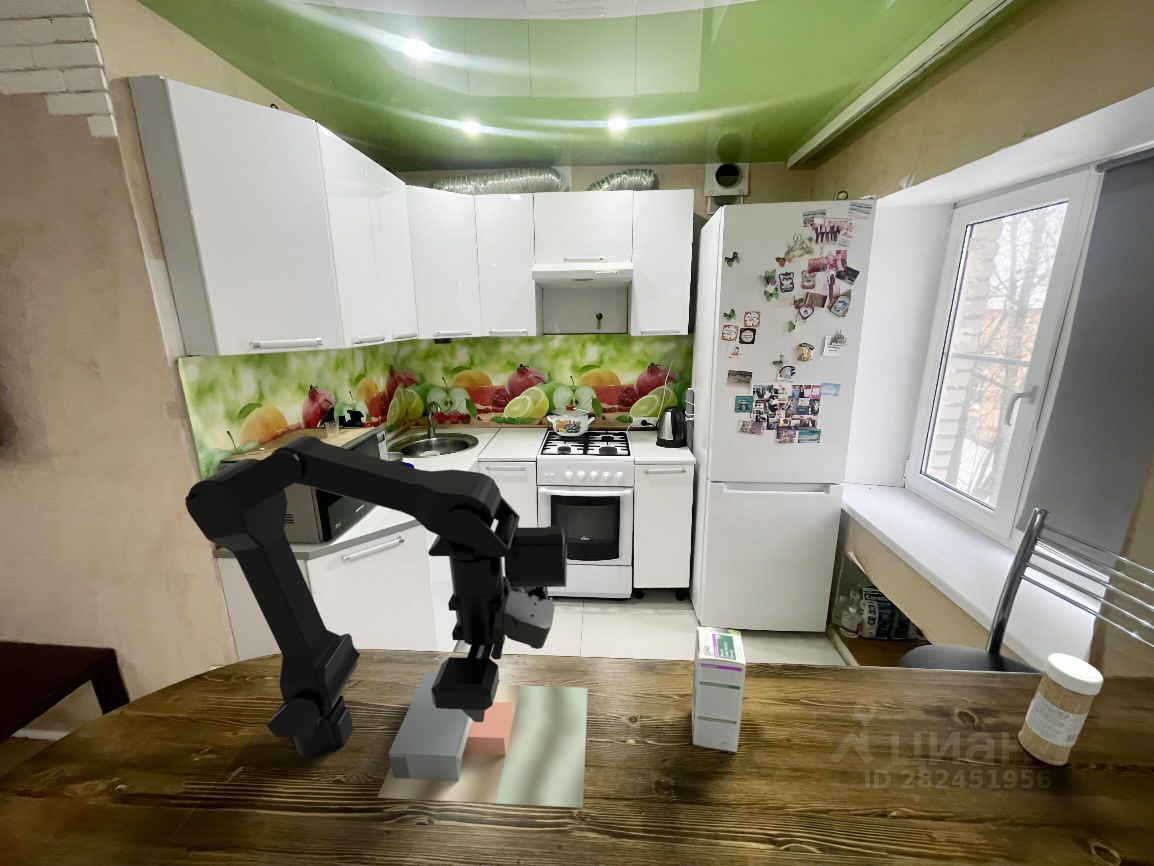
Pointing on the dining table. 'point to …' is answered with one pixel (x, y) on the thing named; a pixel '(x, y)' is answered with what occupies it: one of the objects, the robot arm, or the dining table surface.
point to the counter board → (519, 756)
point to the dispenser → (430, 739)
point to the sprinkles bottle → (1059, 708)
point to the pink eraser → (491, 731)
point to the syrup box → (717, 688)
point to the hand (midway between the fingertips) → (488, 687)
